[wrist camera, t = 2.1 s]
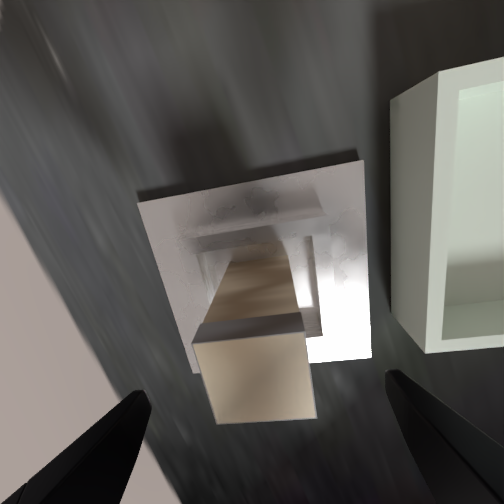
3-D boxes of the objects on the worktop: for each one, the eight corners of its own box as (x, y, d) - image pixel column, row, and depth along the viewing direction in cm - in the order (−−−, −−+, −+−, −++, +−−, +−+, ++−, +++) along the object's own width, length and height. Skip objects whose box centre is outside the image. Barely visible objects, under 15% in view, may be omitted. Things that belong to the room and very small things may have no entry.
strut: (288, 254, 16) (305, 331, 8) (296, 307, 17) (316, 418, 9) (227, 263, 16) (191, 343, 9) (239, 314, 17) (216, 424, 10)
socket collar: (359, 160, 14) (374, 158, 12) (368, 351, 18) (379, 373, 16) (141, 201, 16) (123, 206, 14) (195, 367, 20) (187, 389, 18)
